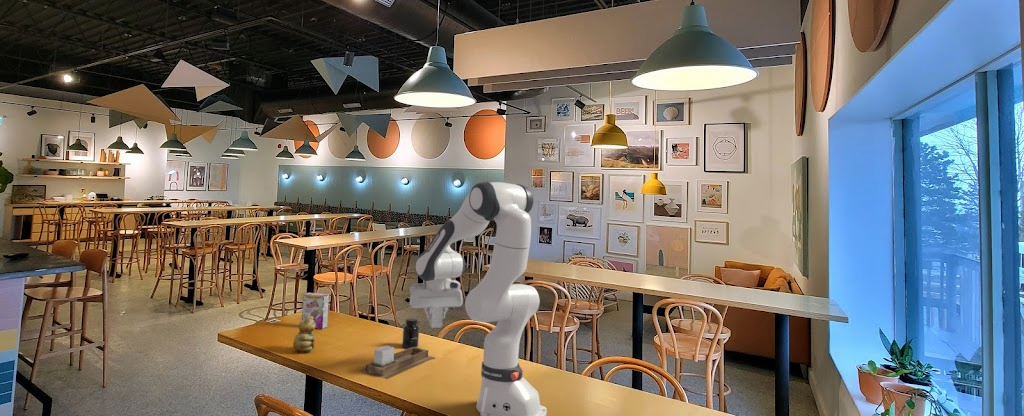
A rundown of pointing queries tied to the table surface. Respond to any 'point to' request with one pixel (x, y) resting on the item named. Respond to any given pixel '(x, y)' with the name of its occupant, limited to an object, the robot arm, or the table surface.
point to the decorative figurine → (305, 335)
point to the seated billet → (383, 356)
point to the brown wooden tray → (399, 363)
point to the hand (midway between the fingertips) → (435, 318)
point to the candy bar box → (316, 308)
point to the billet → (436, 316)
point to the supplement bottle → (410, 333)
